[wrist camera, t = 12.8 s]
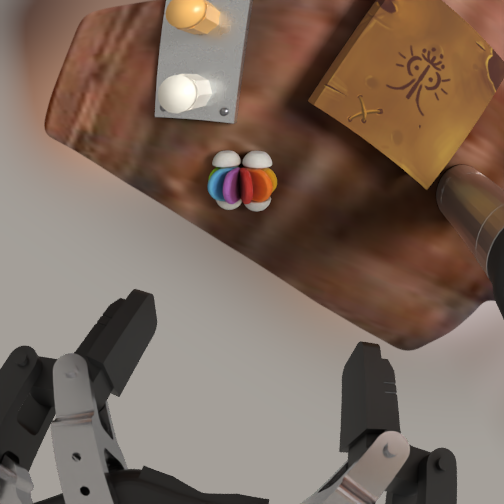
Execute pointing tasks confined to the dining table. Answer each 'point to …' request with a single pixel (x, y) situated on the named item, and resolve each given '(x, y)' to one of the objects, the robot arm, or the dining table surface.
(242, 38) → the plate
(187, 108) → the ivory cap
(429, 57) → the diary
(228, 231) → the dining table surface
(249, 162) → the rainbow petal toy
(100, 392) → the robot arm
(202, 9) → the orange acorn nut
